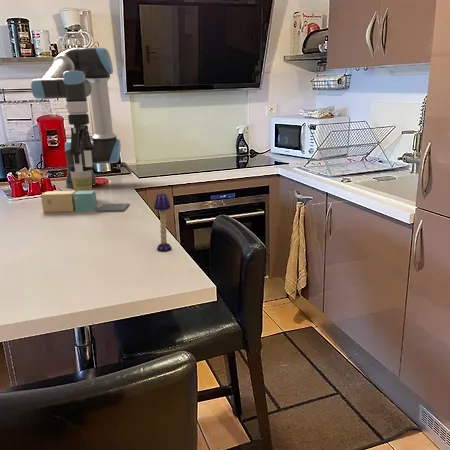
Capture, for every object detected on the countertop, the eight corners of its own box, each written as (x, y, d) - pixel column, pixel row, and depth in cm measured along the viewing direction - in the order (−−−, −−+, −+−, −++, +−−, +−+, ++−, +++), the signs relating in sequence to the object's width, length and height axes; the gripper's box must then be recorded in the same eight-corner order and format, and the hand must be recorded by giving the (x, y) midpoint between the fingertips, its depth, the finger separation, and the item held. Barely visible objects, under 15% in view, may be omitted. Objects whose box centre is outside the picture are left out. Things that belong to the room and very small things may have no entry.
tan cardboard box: (49, 208, 190) (46, 191, 188) (79, 207, 190) (77, 190, 188) (43, 212, 184) (40, 194, 182) (74, 211, 184) (72, 193, 182)
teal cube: (80, 207, 190) (78, 190, 188) (97, 207, 190) (95, 190, 188) (75, 211, 184) (73, 194, 182) (93, 210, 184) (91, 193, 182)
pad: (102, 205, 192) (102, 203, 192) (129, 204, 192) (129, 203, 192) (95, 212, 181) (95, 210, 181) (123, 211, 181) (123, 209, 181)
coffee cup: (89, 202, 199) (85, 167, 194) (68, 201, 201) (63, 167, 196) (99, 196, 208) (96, 163, 204) (79, 196, 210) (75, 163, 206)
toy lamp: (175, 247, 138) (171, 192, 133) (170, 252, 133) (166, 196, 129) (160, 246, 139) (156, 192, 134) (154, 252, 135) (150, 195, 130)
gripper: (78, 112, 189) (84, 165, 195) (56, 115, 165) (64, 174, 170) (96, 112, 189) (101, 164, 194) (77, 114, 165) (84, 174, 170)
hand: (84, 169), depth 183 cm, fingers open, 13 cm apart
